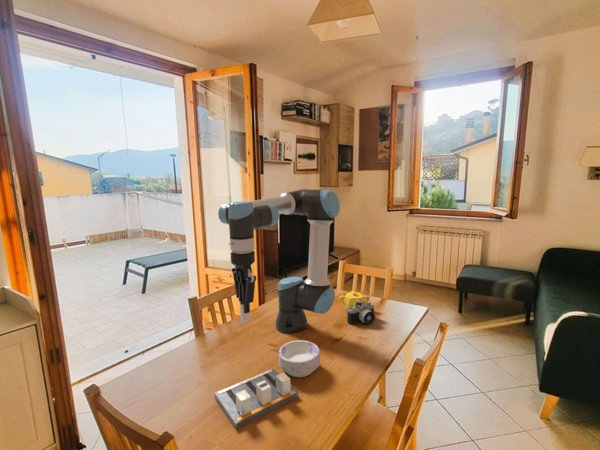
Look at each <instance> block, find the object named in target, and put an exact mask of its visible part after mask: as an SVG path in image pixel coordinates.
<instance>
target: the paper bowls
mask: <svg viewBox="0 0 600 450" xmlns="http://www.w3.org/2000/svg"><path fill="white" fill-rule="evenodd" d="M320 350H321V349H320V348H319V347H318V345H317V344H316V343H314V342H311V341H309V340H300V339H299V340H292V341H288V342H286V343H284V344H283V345H282V346H280V348H279V349H278V364H279V367H280V369H281V370H282V371H283V372H284V373H287V374H288V376H291V377H294V378H304V377H305V378H306V377H307V376H310V375H311V374H312V373H313V372H314V371H316V370H317V369H318V367H319V366H320V365H321V351H320Z"/></svg>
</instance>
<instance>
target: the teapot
mask: <svg viewBox="0 0 600 450" xmlns="http://www.w3.org/2000/svg"><path fill="white" fill-rule="evenodd" d="M364 298H365V299H364ZM339 301H340V302H341V303H342V304H343V308H344V310H345V312H346V313H347V314H348V309H349V308H350V307H355V305H356V303H357V302H358V301H359V302H361V301H364V303H365V304H366V303H369V301H370V296H369V295H362V293H360V292H358V291H354V290H351V291H350V292H346V294H345V295H340V296H339Z"/></svg>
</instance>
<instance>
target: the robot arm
mask: <svg viewBox="0 0 600 450" xmlns="http://www.w3.org/2000/svg"><path fill="white" fill-rule="evenodd" d="M340 209H341V206H340V199H339V196H338V194H337V193H336V192H335V191H333V190H331V189H303V188H302V189H299V190H293V191H287V192H284V193H281V194H280V195H279V196H274V197H268V198H261V199H256V200H250V201H243V200H242V201H234V202H233V201H232V202H230V203H223V204H222V205H221V206H220V207H219V209H218V210H217V211H218V220H219V221H220V222H221V224H225V225H228V226H229V227H228V228H229V242H228V244H229V246H230V251H231V252H230V264H231V265H234V267H233V268H231V272H232V278H233V284H234V290H235V296H236V299H238V301H239V302H240V303H239V310H240V312H239V313H240V322H241V323H243V324H245V323H247V322H251V308H250V307H251V306H250V305H251V303H254V298H255V286H256V285H255V284H256V282H257V281H256V280H257V276H256V275H253V269H252V265H253V264H254V263H255V262H256V257H255V254H256V252H255V251H254V250H255V249H256V248H255V230H258V229H259V230H261V229H264V228H269V227H272V226H275V225H276V224H277V223H278V221H279V219H280V215H282V214H283V215H287V216H289V215H300V216H307V218H306V220H307V222H308V223H309V224H310V225H309V242H308V243H309V245H308V263H307V265H308V266H307V277H306V278H305V280H304V278H303V277H301V276H289V277H285V278H282V279H281V280H279V281H278V286H277V287H278V289H277V293H278V297H277V298H278V311H277V315H276V319H275V329H276V330H277V331H280V332H282V333H287V334H294V333H295V334H296V333H300V332H302V331H303V332H304V330H306V329H307V328H308V319H307V316H306V313H305V311H308V312H312V313H314V314H321V315H324V314H325V315H326V314H327V313H328V312H329V311H330V310H331V308H332V306H333V304H334V301H335V295H336V293H335V289H333V288H332V287H331V282H330V281H329V280H328V269H329V267H328V266H329V248H330V247H329V246H330V233H331V231H330V230H331V229H330V227H331V224H332V223H334V221H335V220H334V219H335V218H337V217H338V215H339V213H340Z"/></svg>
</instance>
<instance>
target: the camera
mask: <svg viewBox="0 0 600 450" xmlns="http://www.w3.org/2000/svg"><path fill="white" fill-rule="evenodd" d="M364 302H365V300H364V301H361V302H359V301H358V302H357V303H356V305H355V307H350V308H349V309H348V313H347V315H346V316H347V321H346V322H347V324H349V325H351V326H353V325H356V324H360V323H363V324H365V325H367V326H368V325H371V324H372V323H373V322H374V321H375V318H376V317H375V316H376V315H375V305H374V304H373V303H371V302H367V303H366V304H365V303H364Z"/></svg>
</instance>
